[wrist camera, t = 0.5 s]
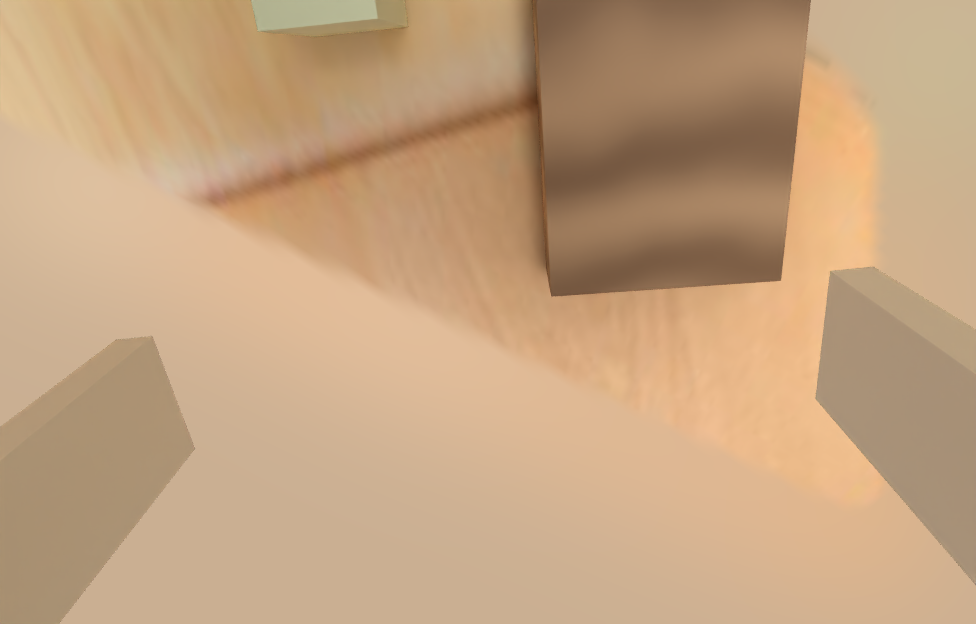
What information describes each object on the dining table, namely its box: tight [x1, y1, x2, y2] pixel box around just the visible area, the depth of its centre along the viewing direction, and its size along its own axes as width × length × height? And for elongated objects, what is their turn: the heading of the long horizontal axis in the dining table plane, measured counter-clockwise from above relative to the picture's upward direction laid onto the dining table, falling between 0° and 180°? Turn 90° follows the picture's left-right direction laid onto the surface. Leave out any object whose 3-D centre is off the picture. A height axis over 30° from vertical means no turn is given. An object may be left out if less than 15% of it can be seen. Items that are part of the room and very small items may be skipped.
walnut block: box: [532, 0, 811, 296], centre depth 31 cm, size 15×12×5 cm
